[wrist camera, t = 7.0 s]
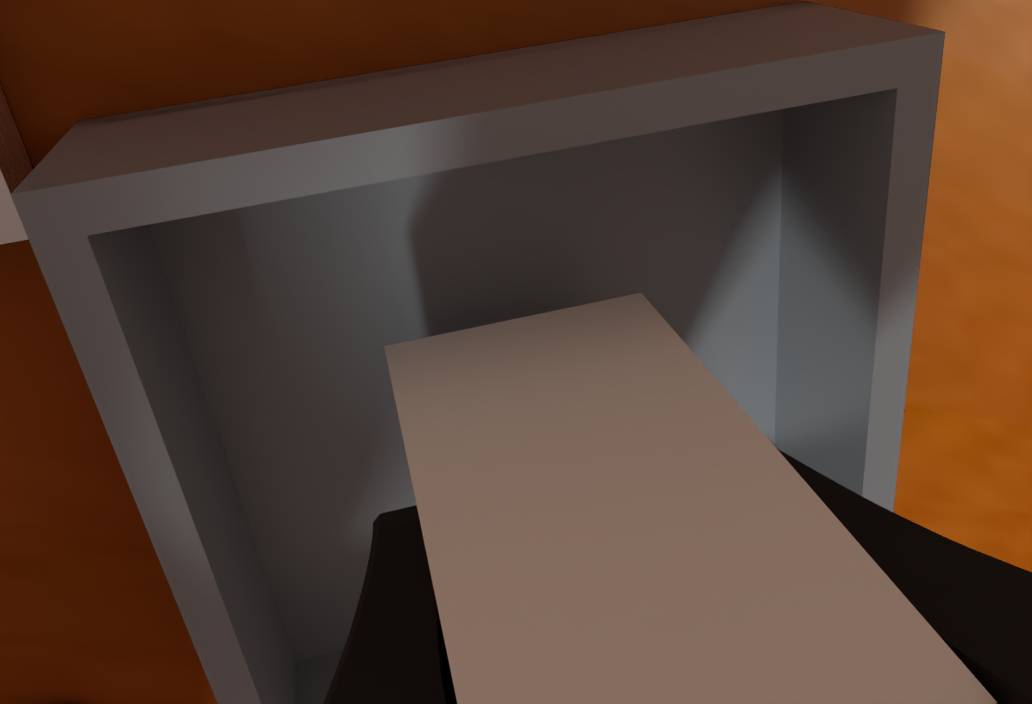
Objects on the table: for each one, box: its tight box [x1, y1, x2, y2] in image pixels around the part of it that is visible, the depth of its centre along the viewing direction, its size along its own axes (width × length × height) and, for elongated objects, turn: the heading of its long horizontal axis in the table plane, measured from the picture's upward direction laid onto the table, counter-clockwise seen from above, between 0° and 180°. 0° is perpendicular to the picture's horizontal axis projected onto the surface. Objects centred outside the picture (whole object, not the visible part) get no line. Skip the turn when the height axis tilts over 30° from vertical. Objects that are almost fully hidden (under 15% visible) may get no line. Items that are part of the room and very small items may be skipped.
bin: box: [10, 1, 945, 704], centre depth 15 cm, size 11×11×4 cm
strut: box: [384, 293, 997, 704], centre depth 11 cm, size 4×4×8 cm
